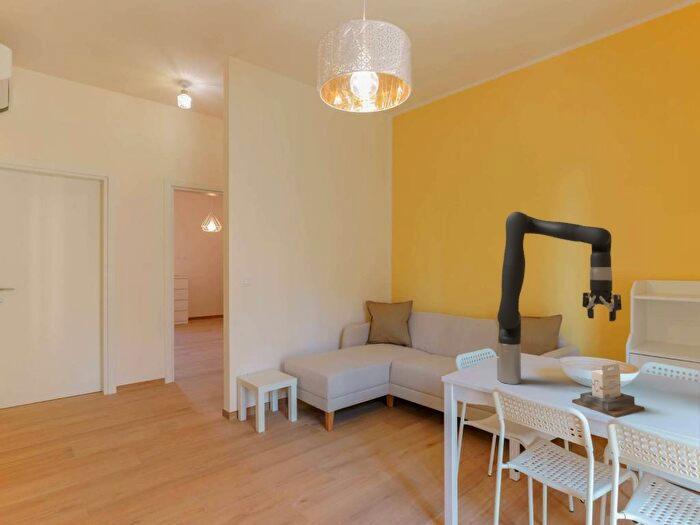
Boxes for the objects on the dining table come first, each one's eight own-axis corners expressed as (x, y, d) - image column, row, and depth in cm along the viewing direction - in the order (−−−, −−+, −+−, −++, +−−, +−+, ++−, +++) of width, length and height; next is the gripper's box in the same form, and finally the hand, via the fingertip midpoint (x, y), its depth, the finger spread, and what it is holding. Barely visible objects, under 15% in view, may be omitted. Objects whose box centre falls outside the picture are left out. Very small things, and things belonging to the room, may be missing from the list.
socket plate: (572, 402, 150) (572, 391, 150) (600, 396, 156) (600, 386, 156) (614, 417, 135) (614, 405, 135) (644, 410, 141) (644, 398, 141)
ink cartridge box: (608, 399, 149) (608, 360, 150) (621, 403, 145) (620, 363, 145) (591, 402, 147) (590, 362, 147) (603, 406, 142) (602, 365, 142)
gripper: (577, 278, 162) (578, 318, 162) (612, 279, 149) (613, 322, 148) (590, 278, 165) (590, 317, 165) (625, 279, 151) (626, 321, 151)
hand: (601, 319), depth 156 cm, fingers open, 8 cm apart
